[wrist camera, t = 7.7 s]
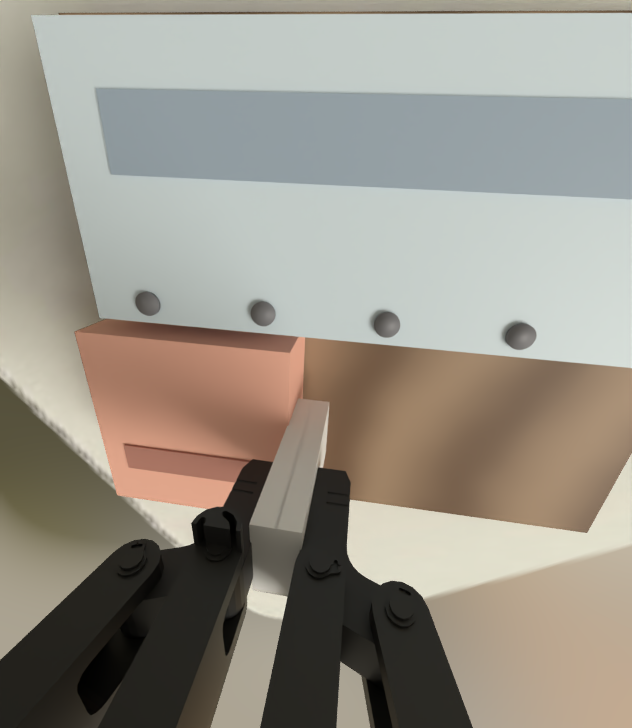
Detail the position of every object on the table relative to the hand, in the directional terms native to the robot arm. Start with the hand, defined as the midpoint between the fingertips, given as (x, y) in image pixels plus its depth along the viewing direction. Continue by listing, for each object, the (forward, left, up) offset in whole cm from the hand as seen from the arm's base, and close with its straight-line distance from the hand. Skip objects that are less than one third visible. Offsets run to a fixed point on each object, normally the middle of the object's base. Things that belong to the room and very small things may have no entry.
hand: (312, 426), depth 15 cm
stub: (-5, 0, -2) cm, 5 cm away
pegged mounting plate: (+2, +9, -2) cm, 10 cm away
